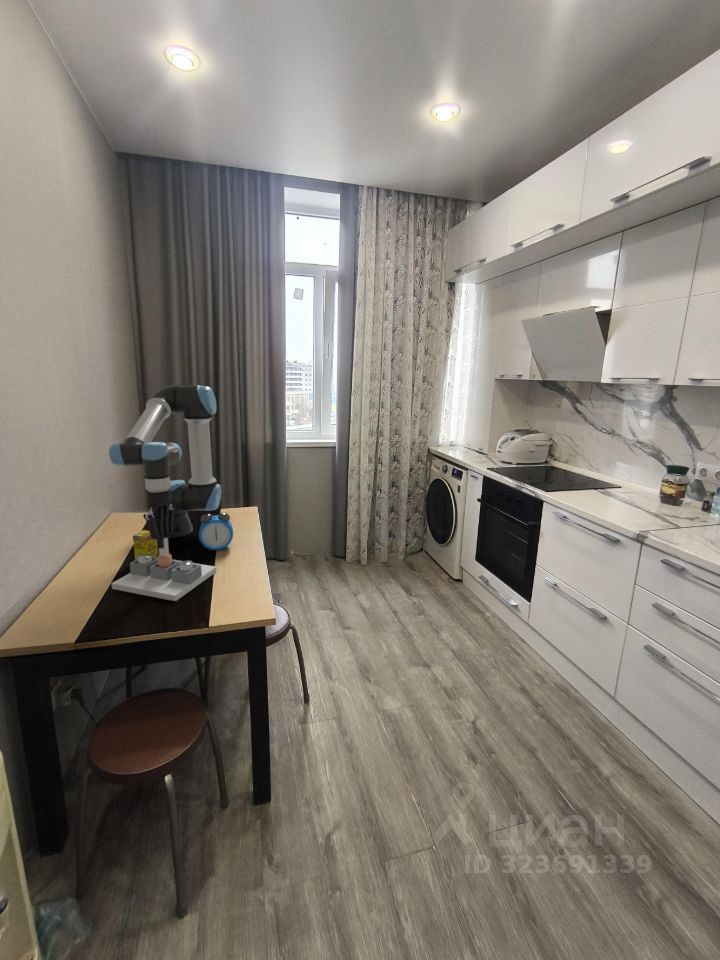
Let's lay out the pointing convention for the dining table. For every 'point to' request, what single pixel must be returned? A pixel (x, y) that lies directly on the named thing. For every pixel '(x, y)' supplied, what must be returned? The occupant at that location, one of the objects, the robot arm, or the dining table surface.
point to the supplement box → (145, 544)
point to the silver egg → (185, 566)
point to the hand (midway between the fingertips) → (164, 555)
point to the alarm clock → (216, 531)
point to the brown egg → (165, 561)
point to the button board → (162, 579)
